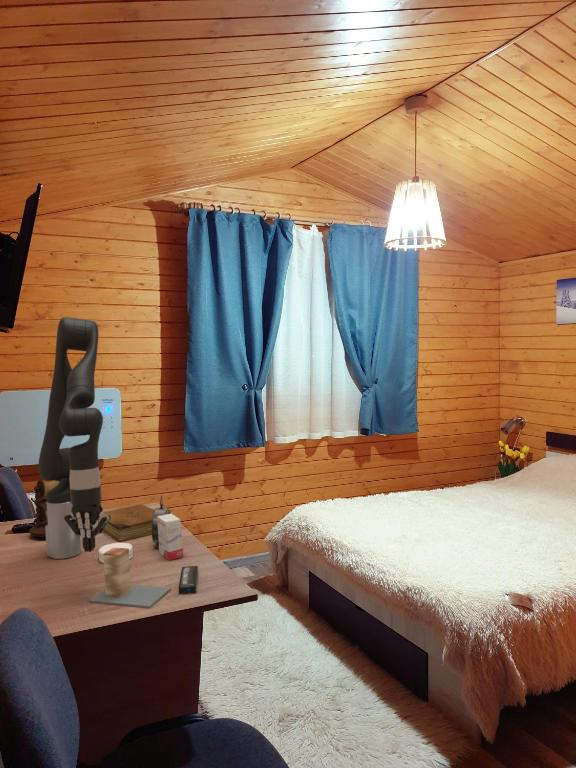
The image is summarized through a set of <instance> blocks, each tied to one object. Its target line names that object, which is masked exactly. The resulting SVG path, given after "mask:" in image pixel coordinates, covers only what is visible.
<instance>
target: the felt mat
mask: <svg viewBox="0 0 576 768" xmlns="http://www.w3.org/2000/svg"><path fill="white" fill-rule="evenodd" d="M171 591H172V588H171V587H163V586H154V585H153V586H152V585H138V584H131V590H130V591H129V592H128V593H126V594H125V595H124V596H122V597H114V596H106V590H105V589H103V590H102V591H100V592H98V593H97V594H96V595H94V596H93V597H92V598H90V599H89V600H88V603H93V604H103V605H112V606H124V607H134V608H141V609H142V608H143V609H150V608H152V607H153V606H154V605H156V604H157V603H158V602H159V601H160V600H161V599H162V598H164V597H165V596H166V595H167V594H168V593H169V592H171Z"/></svg>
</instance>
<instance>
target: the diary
mask: <svg viewBox="0 0 576 768" xmlns="http://www.w3.org/2000/svg"><path fill="white" fill-rule="evenodd" d="M154 510H155V509H153V508H151V507H149V506H147V505H144V504H143V503H141V504H136V505H131V506H126V507H120V508H115V509H110V510H103V512H104V513H105V514H106V515H110V516H111V519H110V520H109V522H108V523H107V525H106V526H105V528H104V529H103V533H104V532H105V533H106V534H105V533H104V534H105V535H107V534H108V535H107V536H109V537H110V536H111V537H110V538H112V539H113V538H114V539H113V540H115V541H116V540H117V541H116V542H117V543H125V542H127V541H129V542H130V541H131V540H133V541H134V540H136V539H142V538H144V537H149V536H152V519H153V514H154ZM99 518H100V517H99ZM99 522H100V521H99V519H98V520H97V524H98V523H99Z"/></svg>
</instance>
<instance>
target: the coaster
mask: <svg viewBox="0 0 576 768" xmlns="http://www.w3.org/2000/svg"><path fill="white" fill-rule="evenodd" d="M112 548H128V549H129V560H131V559H132V558H133V557H134V553H133V551H134V550H133V549H134V546H133V545H132V544H131V543H128V542H113V543H107V544H106V545H102V546H101V547H100V548H99V549H98V561H99V562H100V563H102V564H104V553H105V552H107V551H108V550H110V549H112Z"/></svg>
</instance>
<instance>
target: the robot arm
mask: <svg viewBox="0 0 576 768" xmlns="http://www.w3.org/2000/svg"><path fill="white" fill-rule="evenodd" d="M56 331H57V333H56V341H55V343H56V344H55V355H54V357H55V358H54V367H53V375H52V382H51V388H50V393H49V399H48V409H47V417H46V418H47V419H46V425H45V431H44V436H43V439H42V440H43V441H42V444H41V448H40V453H39V457H38V465H37V466H38V474H39V476H40V478H41V480H44V481H46V482H47V481H49V482H52V481H55V480H57V479H61V481H60V482H59V484H58V485H57V486H56V487H54V488H53V489H51V490H50V491H48V493H47V495H46V499H47V515H48V525H46V527H45V530H46V540H45V542H46V557H50V558H52V559H55V560H56V559H57V560H60V559H68V558H69V559H70V558H73V557H76V556H78V555H80V554H81V552H82V549H83V550H84V552H86V553H87V552H89V553H91V552H93V551H94V550H95V548H96V536H97V535H99V534H101V533H102V531H103V529H104V528H105V526H106V525H107V523H108V522H109V520H110V519H111V516H110V515H106V514H105V513H104V508H103V506H102V505H101V504H102V487H101V486H102V484H101V482H102V481H101V471H100V468H99V455H98V453H99V452H98V451H99V441H100V437H101V436H100V435H101V432H102V427H103V423H104V418H103V417H104V415H103V414H102V412H101V410H100V409H98V408H97V407H91V406H93V405H94V402H95V397H96V395H95V394H96V391H95V372H96V365H97V357H98V346H99V335H100V334H99V326H98V324H97V322H95V321H94V320H90V319H83V318H79V317H77V318H76V317H69V316H63V317H61V318H60V319H59V322H58V325H57V330H56ZM69 350H72V351H77V352H78V351H80V352H85V353H84V355H83V357H82V358H81V359H80V360H79V361H78V363H76V365H75V366H74V367H73V368H72V366H71V364H70V361H69V358H68V357H69V356H68V351H69ZM80 436H83V437H84V436H89V437H88V440H86V441H85V442H83V443H79V444H75V445H72V446H70V447H62V448H61V444H62V442H63V439H64V438H65V437H80ZM99 517H100V518H99ZM98 519H99V521H100V522H99V523H98ZM81 541H82V543H81Z"/></svg>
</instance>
